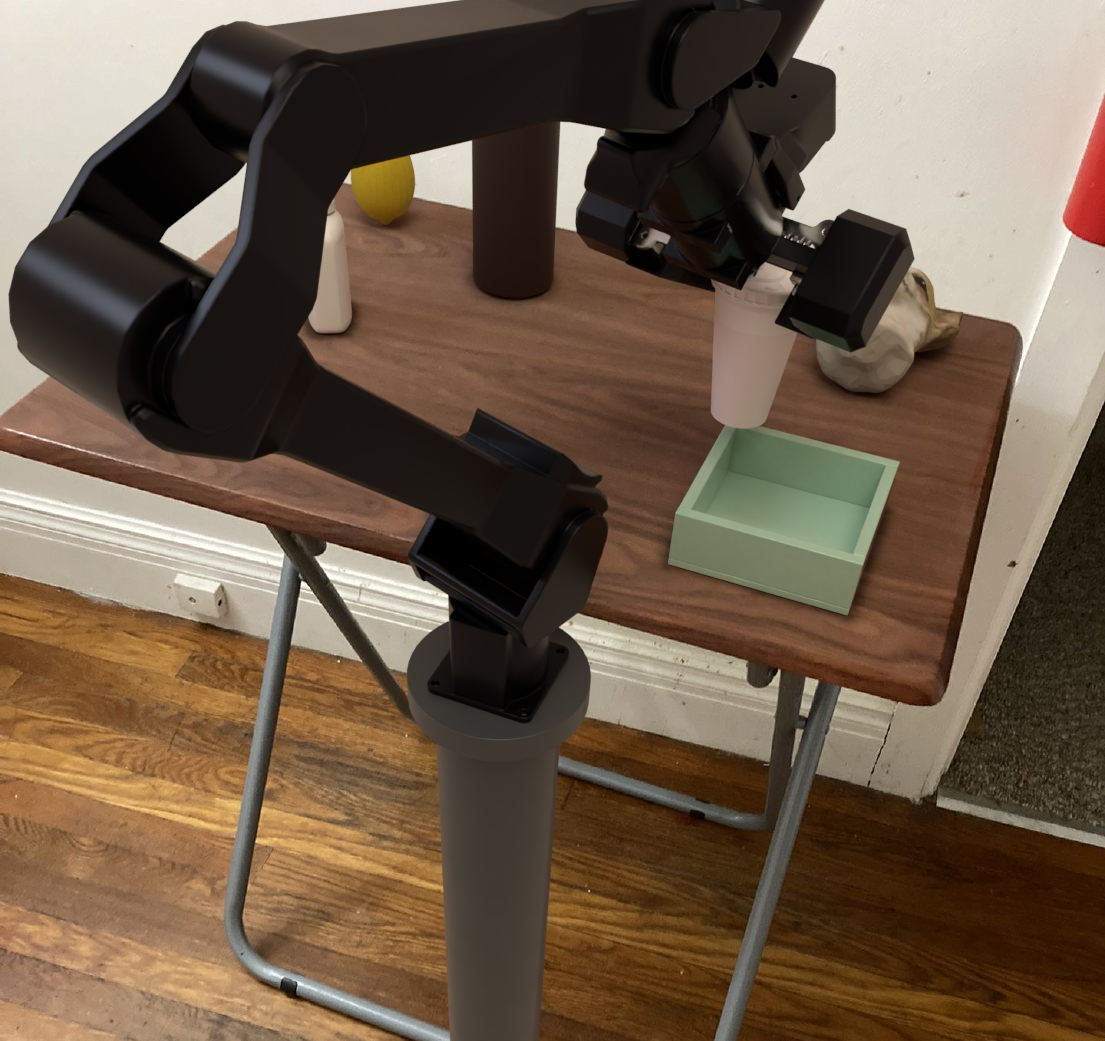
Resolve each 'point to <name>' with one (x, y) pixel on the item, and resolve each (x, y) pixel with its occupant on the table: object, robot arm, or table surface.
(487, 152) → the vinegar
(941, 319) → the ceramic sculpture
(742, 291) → the smoothie
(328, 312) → the eye dropper bottle
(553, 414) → the table surface
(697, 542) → the open box
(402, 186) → the lemon
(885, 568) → the table surface
